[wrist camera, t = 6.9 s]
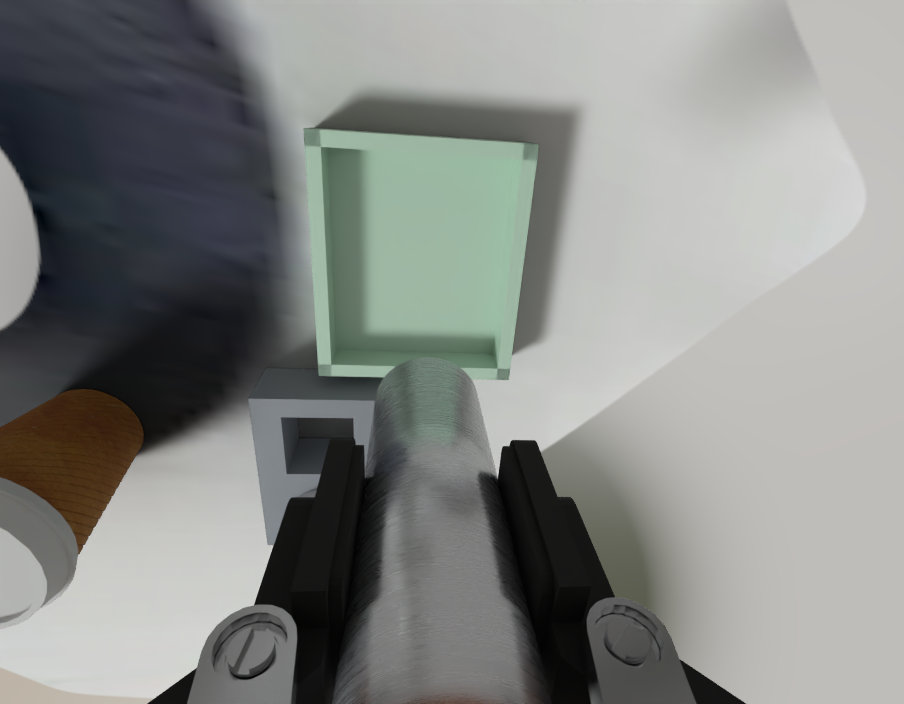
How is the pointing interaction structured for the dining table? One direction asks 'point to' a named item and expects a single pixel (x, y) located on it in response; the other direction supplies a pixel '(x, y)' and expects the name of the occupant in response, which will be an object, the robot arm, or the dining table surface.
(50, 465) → the disposable coffee cup
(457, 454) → the pin
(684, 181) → the dining table surface
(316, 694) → the robot arm
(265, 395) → the block
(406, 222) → the tray
